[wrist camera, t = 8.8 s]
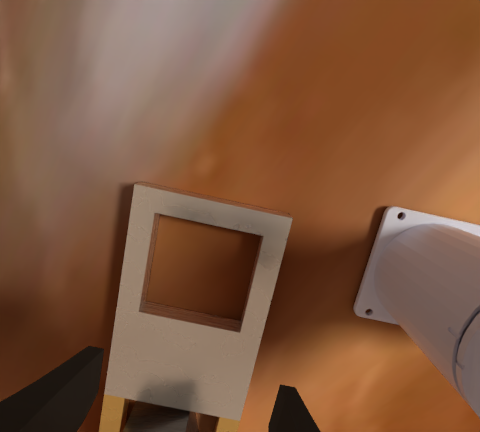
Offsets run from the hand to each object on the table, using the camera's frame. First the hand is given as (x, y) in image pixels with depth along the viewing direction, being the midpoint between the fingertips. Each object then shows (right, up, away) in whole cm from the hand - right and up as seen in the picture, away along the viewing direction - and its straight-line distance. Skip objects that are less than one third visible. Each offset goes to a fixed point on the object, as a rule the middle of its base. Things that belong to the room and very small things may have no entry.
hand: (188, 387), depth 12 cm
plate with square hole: (-2, -3, +11) cm, 12 cm away
